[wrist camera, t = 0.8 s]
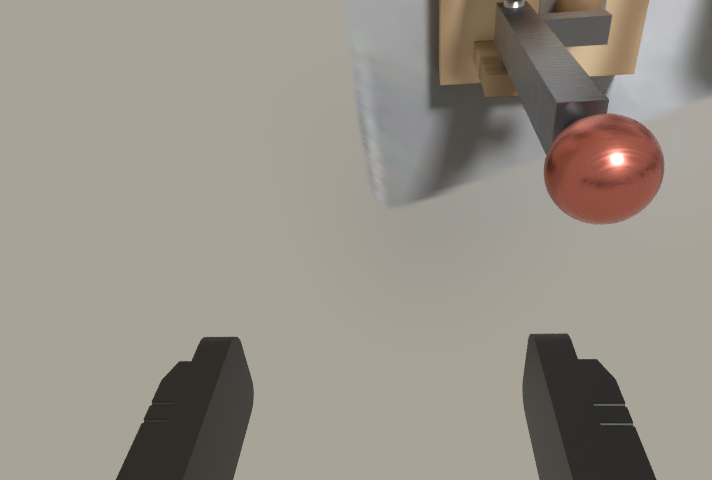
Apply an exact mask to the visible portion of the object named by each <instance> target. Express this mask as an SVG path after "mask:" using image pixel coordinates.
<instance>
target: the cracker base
mask: <svg viewBox="0 0 712 480" xmlns="http://www.w3.org/2000/svg"><path fill="white" fill-rule="evenodd" d="M525 1H526V0H525ZM500 2H504V0H438V47H439V79H440V85H455V84H472V83H481V86H482V89H483V92H484V95H485V98H487V97H505V96H518V93H517V91H516V89H515V87H514V85H513V83H512V81H511V78H510V76H509V74H508V72H507V70H506V68H505V66H504V64H503V63H501V62H500V55H499V53H498V51H497V49H496V46H495V44H494V33H495V15H496V3H500ZM527 2H528V3H529V4H530V5H531V6H532V8H533V9H534V10H535V11H536V12H537V14H545V13H559V12H573V11H587V10H601V9H605V10H607V11H608V12H609V13H610V14H612V20H611V26H610V32H609V38H608V44H607V45H593V46H577V47H566V49H567V50H568V51H569V52H570V53H571V55H572V56H573V57H574V58H575V59H576V61H577V62H578V63H579V64H580V65H581V67H582V68H583V69H584V70H585V72H586V73H587V74H588V75H589V76H590V77H591V76H607V75H624V74H634V71H635V66H636V61H637V57H638V52H639V47H640V42H641V37H642V32H643V27H644V22H645V17H646V12H647V7H648V3H649V0H527Z"/></svg>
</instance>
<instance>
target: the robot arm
mask: <svg viewBox="0 0 712 480" xmlns="http://www.w3.org/2000/svg"><path fill="white" fill-rule="evenodd" d="M253 393H254V392H253V383H252V379H251V375H250V372H249V368H248V365H247V361H246V358H245V355H244V351H243V348H242V344H241V341H240V339H239V338H238V337H204V338H203V339H202V340H201V341H200V343H199V345H198V347H197V350H196V352H195V354H194V357H193V359H192V361H185V362H183V361H181V362H179V363H177V364H176V366H174V368H173V369H172V370H171V371H170V372H169V373H168V374H167V375H166V376H165V377H164V378H163V379H162V381H161V383H160V385H159V387H158V389H157V391H156V393H155V396H154V398H153V400H152V405H151V406H150V407H149V409H148V411H147V413H146V415H145V418H144V423H142V424H141V426H140V429H139V431H138V433H137V435H136V437H135V440H134V441H133V444H132V446H131V448H130V450H129V452H128V454H127V457H126V459H125V461H124V463H123V465H122V468H121V470H120V472H119V474H118V476H117V478H116V480H233V478H234V474H235V470H236V467H237V463H238V459H239V456H240V452H241V448H242V444H243V441H244V437H245V434H246V430H247V426H248V423H249V419H250V415H251V411H252V407H253V396H254V394H253ZM523 404H524V410H525V415H526V420H527V424H528V429H529V434H530V438H531V443H532V447H533V452H534V457H535V461H536V466H537V470H538V474H539V479H540V480H656V478H655V475H654V473H653V470H652V468H651V465H650V463H649V460H648V458H647V455H646V453H645V451H644V448H643V446H642V443H641V441H640V438H639V436H638V433H637V431H636V428H635V427H633V421H632V418H631V416H630V414H629V411H628V409H627V407H625V401H624V399H623V396H622V394H621V391H620V389H619V386H618V384H617V382H616V380H615V378H614V377H613V376H612V375H611V374H610V373H609V372H608V371H607V370H606V369H605V368H604V367H603V365H602V364H601V363H600V362H599V361H598V360H597V359H578V358H577V355H576V353H575V350H574V347H573V344H572V341H571V339H570V337H569V335H568V334H530V336H529V339H528V345H527V353H526V361H525V369H524V376H523Z"/></svg>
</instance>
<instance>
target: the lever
mask: <svg viewBox="0 0 712 480" xmlns="http://www.w3.org/2000/svg"><path fill="white" fill-rule="evenodd" d="M611 20H612V14H610V13H609V12H608V11H607V10H605V9H601V10H587V11H573V12H559V13H545V14H537V12H536V11H535V10H534V9H533V8H532V6H531V5H530V4H529V3H528V2H527V0H526V1H525V0H504V2H500V3H496V15H495V33H494V44H495V46H496V49H497V51H498V53H499V55H500V62H501V63H503V64H504V66H505V68H506V70H507V72H508V74H509V76H510V78H511V81H512V83H513V85H514V87H515V89H516V91H517V93H518V96H519V98H520V100H521V102H522V104H523V106H524V108H525V111H526V113H527V115H528V117H529V119H530V121H531V123H532V125H533V128H534V130H535V132H536V134H537V136H538V138H539V140H540V143H541V145H542V147H543V149H544V151H545V153H546V155H547V156H546V159H545V164H544V180H545V184H546V188H547V191H548V193H549V195H550V197H551V198H552V200H553V201H554V203H555V204H556V205H557V206H558V207H559V208H560V209H561V210H562V211H563V212H564V213H566V214H567V215H569V216H570V217H572V218H574V219H576V220H579V221H582V222H585V223H590V224H612V223H617V222H621V221H623V220H626V219H629V218H630V217H632V216H634V215H636V214H638V213H639V212H640V211H642V210H643V209H644V208H645V207H646V206H647V205H648V204H649V203H650V202H651V201H652V200H653V198H654V197H655V195H656V194H657V192H658V190H659V188H660V186H661V183H662V180H663V175H664V157H663V153H662V150H661V147H660V145H659V143H658V141H657V139H656V138H655V136H654V135H653V134H652V133H651V132H650V131H649V130H648V129H647V128H646V127H645V126H644V125H642V124H641V123H639V122H638V121H636V120H633V119H631V118H629V117H626V116H622V115H617V114H606V113H607V108H608V103H609V99H608V98H607V97H606V96H605V94H604V93H603V92H602V91H601V90H600V88H599V87H598V86H597V85H596V84H595V82H594V81H593V80H592V79H591V78H590V76H589V75H588V74H587V73H586V72H585V70H584V69H583V68H582V67H581V65H580V64H579V63H578V62H577V61H576V59H575V58H574V57H573V56H572V55H571V53H570V52H569V51H568V50H567V49H566V47H577V46H593V45H607V44H608V38H609V32H610V26H611Z"/></svg>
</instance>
